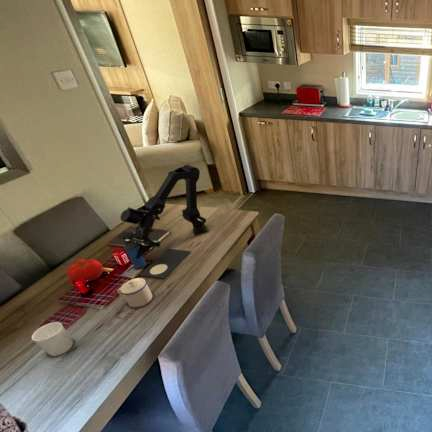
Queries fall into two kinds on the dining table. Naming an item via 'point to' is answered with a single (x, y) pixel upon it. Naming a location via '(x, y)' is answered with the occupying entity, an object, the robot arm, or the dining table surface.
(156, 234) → the hardcover book
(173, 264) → the mat
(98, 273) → the tomato
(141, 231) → the robot arm
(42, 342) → the white cup
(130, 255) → the tube
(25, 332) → the dining table surface
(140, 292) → the teacup with lid
